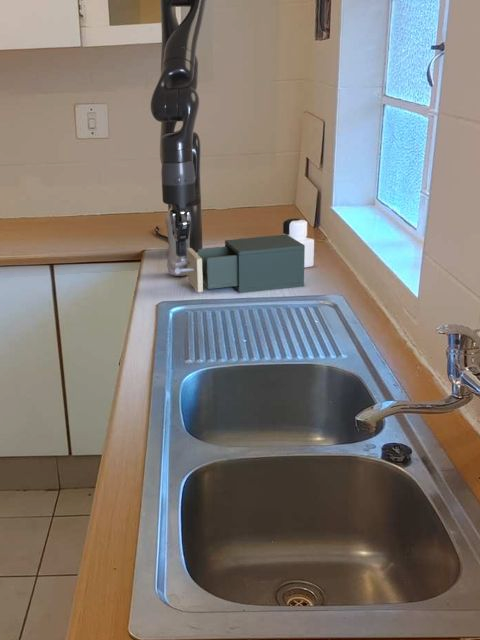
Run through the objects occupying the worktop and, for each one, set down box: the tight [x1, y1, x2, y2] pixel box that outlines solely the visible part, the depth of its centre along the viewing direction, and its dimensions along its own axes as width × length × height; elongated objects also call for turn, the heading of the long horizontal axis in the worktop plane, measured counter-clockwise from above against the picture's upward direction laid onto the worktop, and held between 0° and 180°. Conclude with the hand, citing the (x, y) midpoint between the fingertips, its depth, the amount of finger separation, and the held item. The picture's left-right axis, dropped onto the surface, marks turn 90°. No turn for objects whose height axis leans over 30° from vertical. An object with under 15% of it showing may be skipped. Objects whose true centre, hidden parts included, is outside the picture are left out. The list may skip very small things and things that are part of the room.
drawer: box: [169, 245, 238, 293], centre depth 180 cm, size 20×12×8 cm, turn 99°
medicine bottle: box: [282, 218, 315, 269], centre depth 193 cm, size 7×7×12 cm
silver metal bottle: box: [164, 205, 191, 277], centre depth 190 cm, size 6×7×20 cm
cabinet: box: [224, 234, 305, 294], centre depth 181 cm, size 16×13×10 cm
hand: (181, 255), depth 178 cm, fingers closed
